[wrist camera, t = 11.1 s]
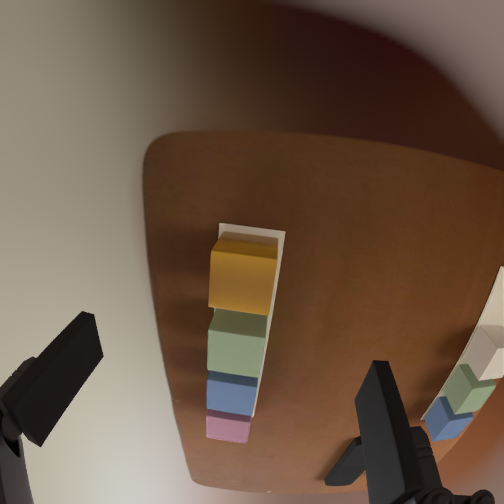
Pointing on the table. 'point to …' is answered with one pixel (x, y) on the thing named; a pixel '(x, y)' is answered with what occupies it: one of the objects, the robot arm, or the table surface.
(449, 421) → the white strip with cubes
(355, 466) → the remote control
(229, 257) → the block
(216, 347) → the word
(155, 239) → the table surface
